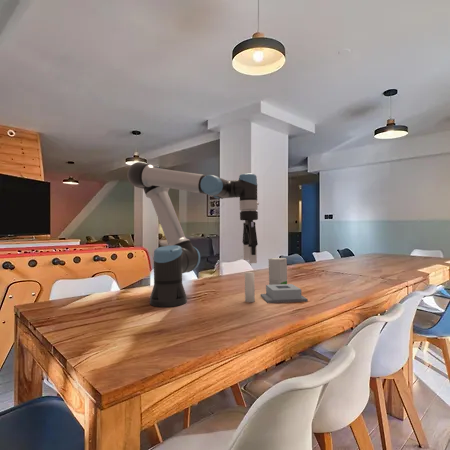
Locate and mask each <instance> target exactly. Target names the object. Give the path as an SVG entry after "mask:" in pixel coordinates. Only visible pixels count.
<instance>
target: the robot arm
mask: <svg viewBox="0 0 450 450" xmlns="http://www.w3.org/2000/svg"><path fill="white" fill-rule="evenodd" d="M126 177H127V179H128V182H129V183H130V184H131V185H132V186H133V187H135V188H139V189H142V190H143V192H144V194H145V196H146V198H148V199H150V201H151V204H152V206H153V208H154V211H155V214H156V216H157V219H158V221H159V224H160V227H161V229H162V231H163V235H164V237H165V239H166V242H167V245H165V246H159V247H157V248H156V249H154V251H153V257H152V258H153V286H152V291H151V293H150V298H149V305H151V306H153V307H156V308H157V307H159V308H160V307H161V308H169V307H171V308H172V307H177V306H182V305H184V304H186V303H187V301H188V299H187V294H186V291H185V288H184V285H183V274H186V273H190V272H193V271H194V270H196V269H197V268H198V267H199V265H200V263H201V253H200V251H199V249H197V247H195V246H193V244H192V241H191V239H189V238H187V237H186V236H185V232H184V230H183V228H182V226H181V222H180V220H179V218H178V215H177V212H176V211H175V207H174V205H173V203H172V200H171V198H170V195H169V191H170V189H173V190H179V191H185V192H186V191H187V192H191V193H196V194H204V195H209V196H213V198H214V199H221V200H223V199H232V198H239V210H240V212H239V220H240V221H244V222H243V224H242V225H243V231H242V244H243V245H242V246H243V260H245V261H246V260H249V264H257V262H258V261H257V258H258V255H257V254H258V253H257V246H258V245H259V244H258V238H257V228H256V225H257V224H256V221H257V220H258V219H259V212H258V211H257V210H259V209H258V206H259V204H260V203H259V202H258V179H257V177H258V176H257V175H256V174H255V173H247V172H246V173H241V174H240V175H239V176H238V179H231V180H227V179H224V178H222V177H219V176H217V175H216V174H215V175H214V174H202V173H194V172H186V171H182V170H181V171H180V170H171V169H166V168H161V167H159V166H156V165H152V164H150V163H146V162H142V161H139V162H135V163H134V162H133V164H131V165H130V166H129V168H128V170H127V176H126Z"/></svg>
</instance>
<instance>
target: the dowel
mask: <svg viewBox="0 0 450 450" xmlns="http://www.w3.org/2000/svg"><path fill="white" fill-rule="evenodd" d="M255 290H256V289H255V272H254V271H253V272H252V271H245V272H244V302H245V303H254V302H255V301H256V299H255V295H256V294H255V293H256V292H255Z"/></svg>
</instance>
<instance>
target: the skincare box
mask: <svg viewBox="0 0 450 450" xmlns="http://www.w3.org/2000/svg"><path fill="white" fill-rule="evenodd" d="M287 261H288V259H287V258H286V257H274V258H273V257H272V258H268V285H278V284H288V265H287V264H288V263H287Z"/></svg>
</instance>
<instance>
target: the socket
mask: <svg viewBox="0 0 450 450" xmlns="http://www.w3.org/2000/svg"><path fill="white" fill-rule="evenodd" d="M260 297H261V299H263V300H264V301H265V302H266V303H267V304H276V303H277V304H279V303H298V302H299V303H301V302H303V303H304V302H308V298H307V297H305V296H303V295H302V289H301V288H300V287H298V286H296V285H295V284H292V283H287V284H278V285H269V284H265V293H260Z"/></svg>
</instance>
